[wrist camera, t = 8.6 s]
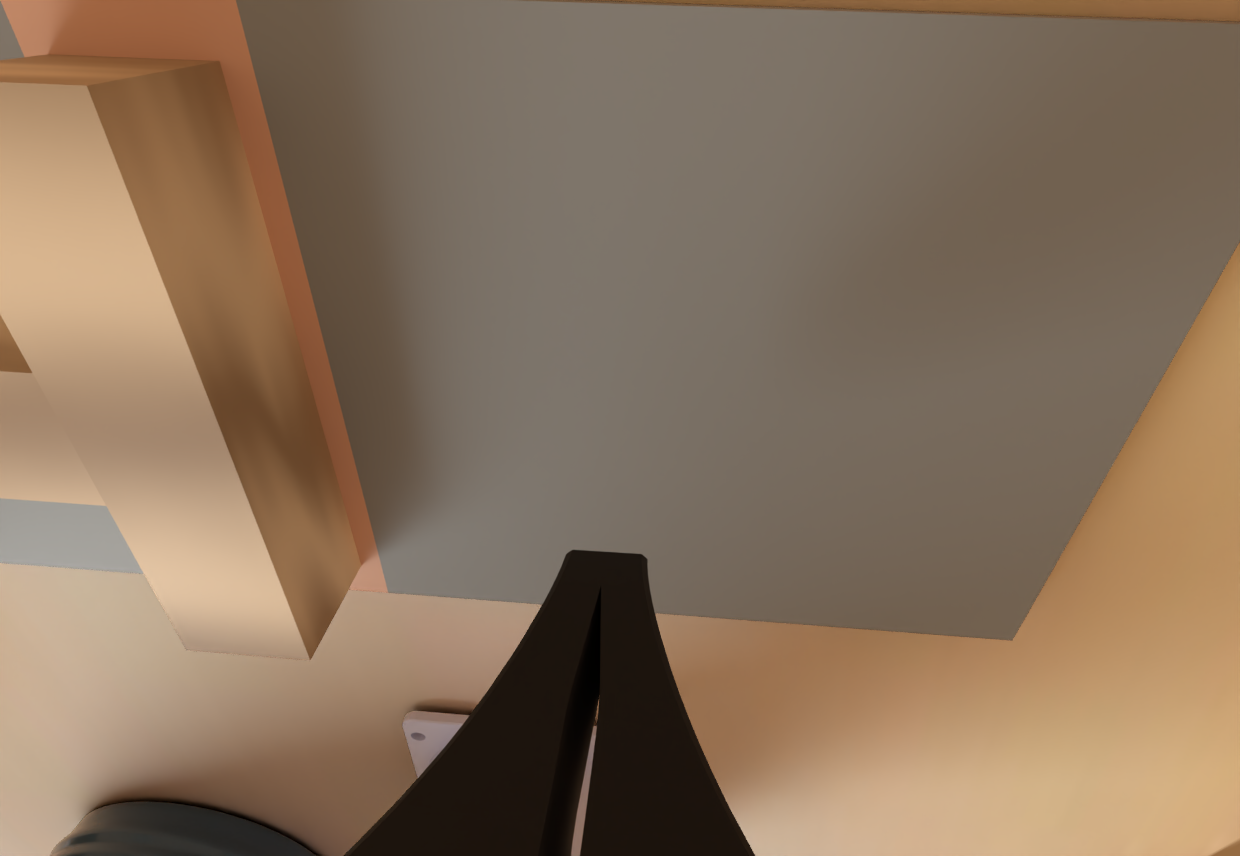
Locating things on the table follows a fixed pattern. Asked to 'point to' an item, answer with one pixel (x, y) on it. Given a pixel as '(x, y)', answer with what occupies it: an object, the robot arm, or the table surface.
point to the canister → (172, 833)
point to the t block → (162, 349)
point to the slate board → (710, 283)
